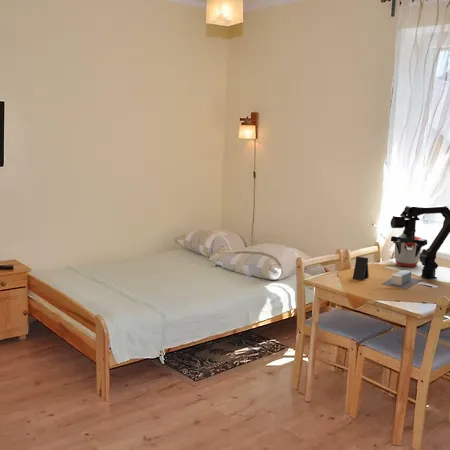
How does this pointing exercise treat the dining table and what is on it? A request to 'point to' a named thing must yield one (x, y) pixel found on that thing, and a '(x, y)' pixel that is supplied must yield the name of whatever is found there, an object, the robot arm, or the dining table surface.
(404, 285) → the rubber mat
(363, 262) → the black picture frame
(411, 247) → the citrus juicer
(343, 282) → the dining table surface
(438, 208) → the robot arm
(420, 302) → the dining table surface
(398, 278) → the tall block
